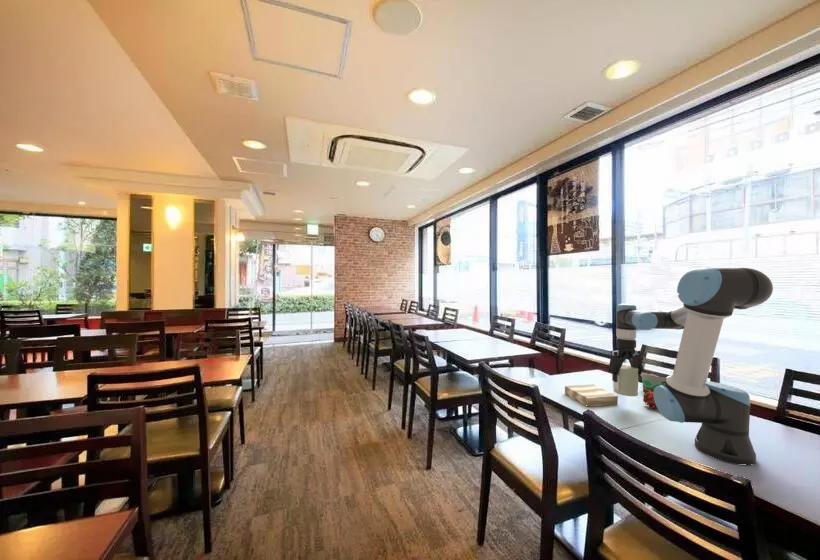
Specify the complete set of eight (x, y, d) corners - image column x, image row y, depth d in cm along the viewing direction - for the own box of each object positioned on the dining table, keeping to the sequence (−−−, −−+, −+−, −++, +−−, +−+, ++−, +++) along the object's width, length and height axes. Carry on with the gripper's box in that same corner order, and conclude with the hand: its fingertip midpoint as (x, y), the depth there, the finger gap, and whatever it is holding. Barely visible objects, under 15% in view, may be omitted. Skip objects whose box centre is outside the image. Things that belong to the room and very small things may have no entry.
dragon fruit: (639, 409, 150) (666, 414, 149) (651, 405, 143) (680, 410, 142) (635, 391, 155) (661, 395, 154) (647, 386, 148) (674, 390, 147)
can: (630, 389, 150) (630, 363, 150) (642, 396, 141) (643, 369, 141) (609, 389, 151) (609, 363, 151) (620, 395, 142) (620, 368, 142)
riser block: (617, 404, 152) (617, 395, 152) (587, 406, 149) (587, 398, 149) (592, 392, 168) (592, 384, 168) (564, 393, 165) (565, 386, 165)
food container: (634, 390, 170) (635, 371, 170) (641, 389, 173) (642, 370, 173) (661, 399, 159) (661, 378, 159) (668, 397, 162) (668, 377, 161)
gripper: (639, 336, 152) (639, 384, 152) (598, 337, 148) (598, 386, 148) (654, 339, 145) (653, 389, 145) (611, 340, 141) (611, 392, 141)
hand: (625, 388), depth 146 cm, fingers closed on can, 9 cm apart
